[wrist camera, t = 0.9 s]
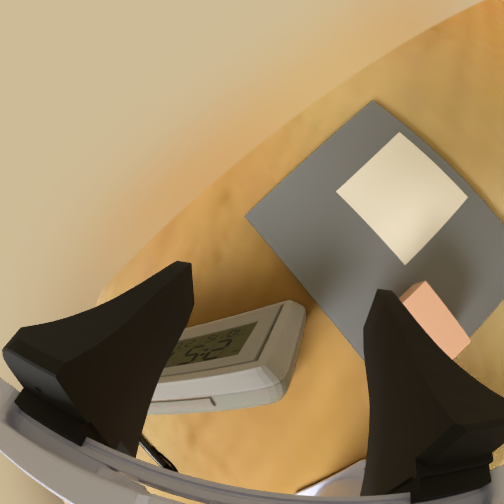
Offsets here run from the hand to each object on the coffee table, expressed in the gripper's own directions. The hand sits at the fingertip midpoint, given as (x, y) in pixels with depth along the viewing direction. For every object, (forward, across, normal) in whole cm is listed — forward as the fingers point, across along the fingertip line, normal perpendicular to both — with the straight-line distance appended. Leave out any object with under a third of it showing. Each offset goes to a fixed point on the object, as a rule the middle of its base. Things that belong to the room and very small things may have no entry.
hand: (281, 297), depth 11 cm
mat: (+12, -8, +2) cm, 15 cm away
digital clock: (+8, +4, +14) cm, 16 cm away
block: (+7, -10, +7) cm, 14 cm away
